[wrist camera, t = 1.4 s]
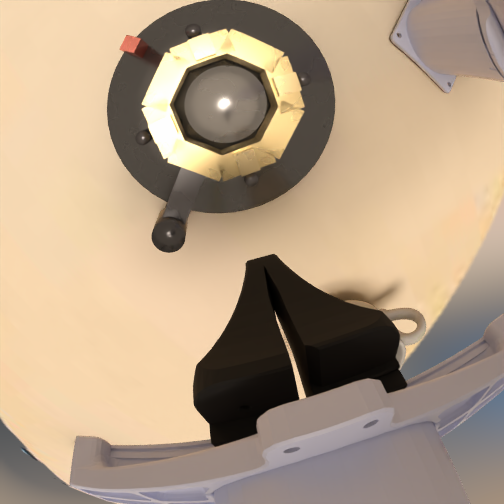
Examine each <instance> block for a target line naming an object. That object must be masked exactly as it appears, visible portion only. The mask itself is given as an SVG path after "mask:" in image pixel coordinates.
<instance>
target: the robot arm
mask: <svg viewBox="0 0 504 504" xmlns="http://www.w3.org/2000/svg"><path fill="white" fill-rule="evenodd" d="M397 34H398V35H399V37H398V36H397ZM390 38H391V41H392V43H393V44H395V45H396V46H397V47H398V48H399V49H400V50H402V51H403V52H404V53H405V54H406V55H407V56H408V57H410V58H411V59H412V60H413V61H414V62H415V63H416V64H417V65H418V66H419V67H420V68H421V69H422V70H423V71H424V72H425V73H426V74H427V75H428V76H429V77H430V78H431V79H432V80H433V81H434V82H435V83H436V84H437V85H438V86H439V87H440V88H441V89H442V90H443V91H444V92H445V93H449V92H450V91H451V89H452V86H453V84H454V81H455V79H456V76H466V77H475V78H483V79H490V80H496V81H502V82H504V0H408V2H407V4H406V6H405V8H404V10H403V12H402V14H401V16H400V18H399V20H398V22H397V24H396V26H395V28H394V30H393V33H392V35H391V37H390ZM275 312H276V315H277V317H278V319H279V322H280V324H281V326H282V329H283V331H284V333H285V335H286V338H287V340H288V342H289V345H290V347H291V350H292V352H293V355H294V359H295V362H296V365H297V368H298V372H299V375H300V378H301V382H302V385H303V388H304V392H305V395H306V398H304V399H301V400H299V395H298V391H297V386H296V381H295V376H294V372H293V367H292V364H291V360H290V357H289V354H288V351H287V348H286V346H285V343H284V340H283V338H282V335H281V332H280V329H279V326H278V324H277V321H276V315H275ZM399 342H400V334H399V331H398V329H397V328H396V327H395V325H394V324H393V322H392V321H391V320H390V319H389V318H388V317H387V316H386V315H385V314H384V313H383V311H380V310H375V309H371V308H366V307H361V306H358V305H355V304H351V303H348V302H345V301H343V300H340V299H338V298H335V297H333V296H331V295H329V294H327V293H325V292H323V291H321V290H319V289H317V288H316V287H314V286H313V285H311V284H309V283H308V282H307V281H305V280H304V279H302V278H301V277H300V276H298V275H297V274H296V273H295V272H293V271H292V270H291V269H290V268H289V267H288V266H286V265H285V264H284V263H283V262H282V261H281V260H280V259H279V258H278V257H277V255H275V254H271V255H268V256H264V257H260V258H257V259H253V260H249V261H247V263H246V271H245V278H244V282H243V287H242V291H241V294H240V297H239V300H238V303H237V305H236V308H235V310H234V313H233V315H232V317H231V319H230V321H229V323H228V324H227V326H226V328H225V330H224V331H223V333H222V335H221V336H220V338H219V339H218V340H217V342H216V343H215V345H214V346H213V347H212V349H211V350H210V351H209V352H208V353H207V354H206V356H205V357H204V358H203V359H202V360H201V361H200V362H199V363H198V364H197V366H196V370H195V376H194V383H193V398H194V406H195V408H196V409H197V411H198V412H199V413H200V414H201V415H202V416H203V418H204V419H205V420H206V421H207V422H208V423H209V424H210V436H211V439H209V440H202V441H193V442H184V443H172V444H156V445H110V444H109V443H108V442H107V441H105V440H104V439H102V438H99V437H91V436H76V440H75V446H74V453H73V459H72V467H71V475H70V486H72V487H74V488H76V489H78V490H81V491H83V492H85V493H88V494H90V495H92V496H95V497H97V498H100V499H103V500H105V501H109V502H116V503H123V504H470V501H469V499H468V496H467V494H466V492H465V489H464V487H463V485H462V482H461V480H460V478H459V476H458V473H457V471H456V469H455V467H454V465H453V463H452V461H451V458H450V456H449V455H448V452H447V450H446V448H445V446H444V444H443V442H442V440H441V437H442V436H444V435H446V434H447V433H449V432H450V431H451V430H453V429H454V428H456V427H457V426H459V425H460V424H461V423H463V422H464V421H465V420H467V419H468V418H469V417H471V416H472V415H473V414H474V413H476V412H477V411H478V410H480V409H481V408H482V407H483V406H484V405H486V404H487V403H488V402H489V401H491V400H492V399H493V398H494V397H495V396H496V395H498V394H499V393H500V392H501V391H502V390H504V314H502V315H501V316H499V317H498V318H497V319H495V320H494V321H492V322H491V323H490V324H489V326H488V327H487V328H486V330H485V332H484V335H483V337H482V338H481V339H479V340H478V341H476V342H475V343H473V344H472V345H470V346H468V347H467V348H465V349H464V350H462V351H460V352H459V353H457V354H456V355H454V356H452V357H450V358H449V359H447V360H445V361H443V362H441V363H440V364H438V365H436V366H435V367H433V368H430V369H429V370H427V371H425V372H423V373H421V374H419V375H417V376H415V377H413V378H411V379H409V380H407V381H405V379H404V377H403V376H402V374H401V372H400V370H399V368H400V364H399V362H398V361H397V359H396V354H397V351H398V347H399Z"/></svg>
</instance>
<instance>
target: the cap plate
mask: <svg viewBox="0 0 504 504" xmlns="http://www.w3.org/2000/svg"><path fill="white" fill-rule="evenodd" d="M223 29H227V31H228V34H229V32H230V30H231V29H233V30H236V31H238V32H241V33H243V34H246V35H248V36H250V37H252V38H255V39H257V40H259V41H261V42H264V43H266V44H268V45H270V46H272V47H274V48H276V49H278V50H280V51H282V52H284V54H283V56H282V57H285V56H288V59H289V62H290V64H291V67H292V70H293V72H296V74H297V77H298V80H299V83H300V86H301V89H302V90H301V91H300V93H301V96H302V100H303V103H304V106H305V107H303V108H300V109H301V110H303V111H305V112H304V113H303V115H302V117H301V119H300V121H299V123H298V125H297V127H296V129H295V130H294V132H293V134H292V136H291V138H290V140H289V142H288V144H287V146H286V148H285V150H284V152H283V153H282V155H281V157H280V159H278V158H276V157H275V160H276V162H275V163H272V164H269V165H267V166H264V167H261V168H260V169H261V170H259V171H256V172H253V173H251V174H248V175H245V176H243V177H242V176H241V175H239V176H237V177H234V178H232V179H229V180H226V181H223V178H222V177H221V179H220V181H217V180H214V179H211V178H209V177H206V176H205V178H204V180H203V182H202V185H201V187H200V189H199V192H198V194H197V196H196V199H195V201H194V204H193V206H192V209H191V210H193V211H199V212H206V213H228V212H237V211H242V210H247V209H250V208H254V207H257V206H260V205H263V204H265V203H267V202H269V201H272V200H274V199H275V198H277V197H279V196H281V195H282V194H284V193H286V192H287V191H288V190H290V189H291V188H292V187H294V186H295V185H296V184H297V183H298V182H299V181H300V180H301V179H303V178H304V177H305V176H306V175H307V173H308V172H309V171H310V170H311V169H312V167H313V166H314V165H315V164H316V162H317V160H318V159H319V157H320V156H321V154H322V152H323V150H324V148H325V146H326V144H327V141H328V139H329V136H330V133H331V129H332V126H333V120H334V114H335V95H334V86H333V82H332V78H331V74H330V71H329V68H328V66H327V63H326V61H325V59H324V57H323V55H322V53H321V52H320V50H319V48H318V47H317V46H316V44H315V43H314V42H313V40H312V39H311V38H310V37H309V36H308V35H307V34H306V33H305V32H304V31H303V30H302V29H301V28H300V27H299V26H298V25H297V24H295V23H294V22H293V21H291V20H290V19H289V18H287V17H285V16H284V15H282V14H280V13H278V12H276V11H275V10H272V9H270V8H267V7H265V6H262V5H259V4H255V3H251V2H247V1H240V0H209V1H202V2H197V3H193V4H190V5H187V6H183V7H181V8H178V9H176V10H174V11H172V12H169V13H167V14H166V15H164V16H162V17H161V18H159V19H157V20H156V21H154V22H153V23H152V24H150V25H149V26H148V27H147V28H146V29H144V30H143V31H142V32H141V33H140V34H139V35H138V36H137V37H133V36H129V35H126V37H125V39H124V41H123V43H122V45H121V47H120V50H122V51H124V54H123V55H122V57H121V59H120V61H119V63H118V65H117V67H116V69H115V72H114V75H113V77H112V80H111V84H110V88H109V93H108V103H107V116H108V126H109V130H110V135H111V139H112V142H113V144H114V147H115V149H116V152H117V154H118V155H119V157H120V159H121V161H122V163H123V164H124V166H125V167H126V168H127V170H128V171H129V172H130V174H131V175H132V176H133V177H134V178H135V179H136V180H137V181H138V182H139V183H140V184H141V185H142V186H143V187H145V188H146V189H147V190H149V191H150V192H151V193H152V194H154V195H156V196H157V197H159V198H161V199H163V200H164V201H166V202H168V200H169V197H170V195H171V192H172V189H173V187H174V184H175V182H176V179H177V176H178V174H179V171H180V169H181V167H180V166H177V165H174V164H171V163H169V162H167V161H168V159H169V157H167V158H165V159H164V158H163V156H162V154H161V152H160V149H159V147H158V145H157V143H155V141H154V139H153V137H152V134H151V132H150V130H149V128H148V122H147V120H146V118H145V115H144V113H143V111H142V109H143V108H145V107H147V106H145V105H142V103H143V100H144V98H145V96H146V93H147V91H148V89H149V86H150V84H151V82H152V80H153V78H154V75H155V73H156V71H157V69H158V67H159V65H160V63H161V61H162V59H163V57H164V55H165V53H166V52H167V53H170V54H171V52H170V49H171V48H173V47H175V46H178V45H180V44H183V43H185V42H188V40H189V39H192V38H195V37H198V36H200V35H203V34H206V33H208V34H211V33H214V32H217V31H220V30H223ZM174 107H175V109H176V112H177V114H178V116H179V119H180V121H181V123H182V126H183V128H184V131H185V133H186V135H187V137H189V138H192V139H195V140H197V141H200V142H202V143H205V144H207V145H210V146H213V147H215V148H218V149H220V150H221V149H224V148H227V147H229V146H232V145H235V144H237V143H240V142H243V141H245V140H248V139H251V138H254V137H255V136H256V134H257V132H258V130H259V128H260V126H261V124H262V122H263V120H264V118H265V116H266V114H267V112H268V110H269V108H270V107H271V105H270V102H269V99H268V96H267V94H266V91H265V88H264V85H263V83H262V80H261V77H260V75H259V73H258V72H255V71H253V70H251V69H249V68H247V67H244V66H242V65H240V64H237V63H235V62H233V61H230V60H228V59H222V60H219V61H216V62H213V63H210V64H207V65H205V66H202V67H199V68H197V69H194V70H191V71H189V73H188V75H187V77H186V79H185V81H184V83H183V85H182V87H181V89H180V91H179V93H178V96H177V98H176V100H175V102H174Z"/></svg>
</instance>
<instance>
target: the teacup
mask: <svg viewBox="0 0 504 504" xmlns="http://www.w3.org/2000/svg"><path fill="white" fill-rule="evenodd" d="M345 302H348V303H351V304H355V305H358V306H361V307H366V308H371V309H375V310H378V309H377V308H375V307H374V306H373V305H371V304H369V303H367V302H364V301H359V300H345ZM379 310H380V311H383V313H384V314H385V315H386V316H387V317H388V318H389V319H390V320H391V321H394V320H400V319H408V320H413V321H414V322H416V323H417V328H416V330H415V331H413V332H411V333H402V332H400V331H399V330H398V331H399V334H400V342H399V347H398V351H397V354H396V359H397V361H398V362H399V364H400V368H401V367H402V365H403V362H404V360H405V355H406V348H405V345H412V344H415V343H416V342H418V341H419V340H421V339H422V337H423V336H424V334H425V331H426V322H425V319H424V317H423V315H422V314H421V313H420V312H419V311H417V310H415V309H411V308H398V309H392V310H386V309H379ZM400 368H399V370H400Z"/></svg>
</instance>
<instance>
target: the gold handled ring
mask: <svg viewBox="0 0 504 504" xmlns="http://www.w3.org/2000/svg"><path fill="white" fill-rule="evenodd" d="M170 52H171V54H170V53H167V52H166V53H165V55H164V57H163V59H162V61H161V63H160V65H159V67H158V69H157V71H156V73H155V75H154V78H153V80H152V82H151V84H150V86H149V89H148V91H147V93H146V96H145V98H144V100H143V103H142V105H145V106H147V107H145V108H143V109H142V111H143V113H144V115H145V118H146V120H147V122H148V128H149V130H150V132H151V134H152V137H153V139H154V141H155V143H157V145H158V147H159V149H160V152H161V154H162V156H163V158H164V159H165V158H167V157H169V159H168V161H167V162H169V163H171V164H174V165H177V166H180V167H181V169H180V171H179V174H178V176H177V179H176V182H175V184H174V187H173V189H172V192H171V195H170V197H169V200H168V203H167V205H166V208H164V209H163V210H162V211H161V212H160V213H159V216H158V218H157V221H156V224H155V226H154V229H153V232H152V241H153V243H154V245H155V246H156V247H157V248H158V249H159V250H161V251H163V252H168V253H170V252H175V251H177V250H179V249H180V248H181V247H182V246H183V244H184V242H185V236H186V228H187V218H188V216H189V213H190V211H191V209H192V206H193V204H194V201H195V199H196V196H197V194H198V192H199V189H200V187H201V185H202V182H203V180H204V178H205V176H206V177H209V178H211V179H214V180H217V181H220V179H221V177H222V178H223V181H226V180H229V179H232V178H234V177H237V176H239V175H241V176H242V177H243V176H245V175H248V174H251V173H253V172H256V171H259V170H261V169H260V168H261V167H264V166H267V165H269V164H272V163H275V162H276V160H275V157H276V158H278V159H280V157H281V155H282V153H283V152H284V150H285V148H286V146H287V144H288V142H289V140H290V138H291V136H292V134H293V132H294V130H295V129H296V127H297V125H298V123H299V121H300V119H301V117H302V115H303V113H304V112H305V111H303V110H301V109H300V108H303V107H305V106H304V103H303V100H302V96H301V93H300V91H301V90H302V89H301V86H300V83H299V80H298V77H297V74H296V72H293V70H292V67H291V64H290V62H289V59H288V56H285V57H282V56H283V54H284V52H282V51H280V50H278V49H276V48H274V47H272V46H270V45H268V44H266V43H264V42H261V41H259V40H257V39H255V38H252V37H250V36H248V35H246V34H243V33H241V32H238V31H236V30H233V29H231V30H230V32H229V34H228V31H227V29H223V30H220V31H217V32H214V33H211V34H208V33H206V34H203V35H200V36H198V37H195V38H192V39H189V40H188V42H185V43H183V44H180V45H178V46H175V47H173V48H171V49H170ZM222 59H228V60H230V61H233V62H235V63H237V64H240V65H242V66H244V67H247V68H249V69H251V70H253V71H255V72H258V73H259V75H260V77H261V80H262V83H263V85H264V88H265V91H266V94H267V96H268V99H269V102H270V105H271V107H270V108H269V110H268V112H267V114H266V116H265V118H264V120H263V122H262V124H261V126H260V128H259V130H258V132H257V134H256V136H255V137H254V138H251V139H248V140H245V141H243V142H240V143H237V144H235V145H232V146H229V147H227V148H224V149H221V150H220V149H218V148H215V147H213V146H210V145H207V144H205V143H202V142H200V141H197V140H195V139H192V138H189V137H187V135H186V133H185V131H184V128H183V126H182V123H181V121H180V119H179V116H178V114H177V112H176V109H175V107H174V102H175V100H176V98H177V96H178V93H179V91H180V89H181V87H182V85H183V83H184V81H185V79H186V77H187V75H188V73H189V71H191V70H194V69H197V68H199V67H202V66H205V65H207V64H210V63H213V62H216V61H219V60H222Z"/></svg>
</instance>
